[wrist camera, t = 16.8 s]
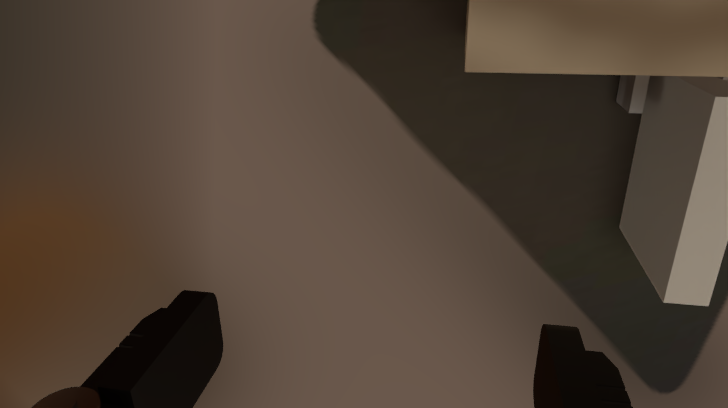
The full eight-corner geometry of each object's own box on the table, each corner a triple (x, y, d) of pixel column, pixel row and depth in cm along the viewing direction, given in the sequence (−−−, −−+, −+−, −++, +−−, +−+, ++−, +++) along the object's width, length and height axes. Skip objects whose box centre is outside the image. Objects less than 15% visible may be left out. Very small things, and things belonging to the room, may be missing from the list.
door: (651, 63, 35) (715, 96, 26) (711, 65, 35) (797, 98, 26) (619, 227, 40) (663, 302, 31) (670, 230, 39) (731, 308, 30)
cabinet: (471, -62, 34) (474, -80, 21) (755, -68, 31) (949, -93, 19) (461, 97, 38) (459, 161, 26) (711, 104, 35) (847, 178, 23)
